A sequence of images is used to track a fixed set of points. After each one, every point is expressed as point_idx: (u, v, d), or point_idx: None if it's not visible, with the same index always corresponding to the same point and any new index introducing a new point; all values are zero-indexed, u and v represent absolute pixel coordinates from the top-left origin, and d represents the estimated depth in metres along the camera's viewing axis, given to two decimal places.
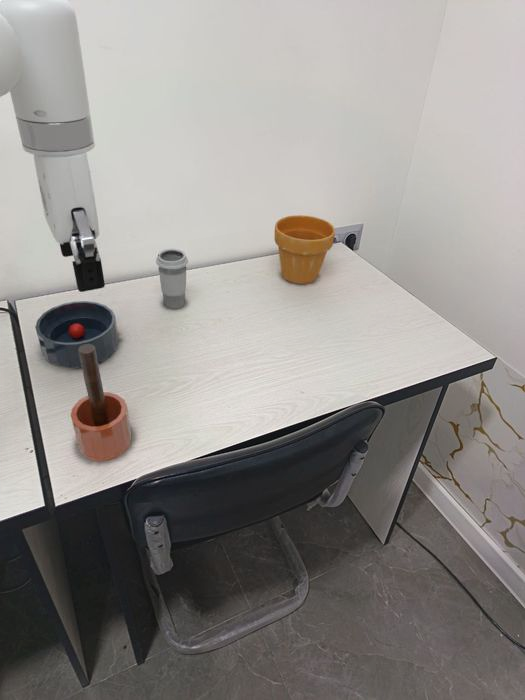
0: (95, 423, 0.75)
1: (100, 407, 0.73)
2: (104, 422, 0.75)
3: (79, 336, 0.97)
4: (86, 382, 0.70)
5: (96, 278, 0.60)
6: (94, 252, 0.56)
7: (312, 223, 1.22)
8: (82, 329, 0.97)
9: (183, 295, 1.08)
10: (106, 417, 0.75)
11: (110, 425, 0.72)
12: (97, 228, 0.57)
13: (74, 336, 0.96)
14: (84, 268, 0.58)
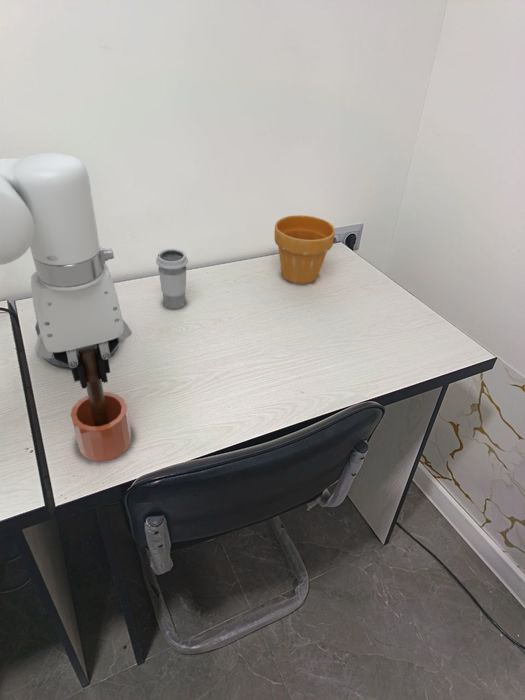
0: (95, 423, 0.75)
1: (100, 407, 0.73)
2: (104, 422, 0.75)
3: None
4: None
5: (73, 377, 0.68)
6: (53, 355, 0.65)
7: (312, 223, 1.22)
8: None
9: (183, 295, 1.08)
10: (106, 417, 0.75)
11: (110, 425, 0.72)
12: (46, 345, 0.62)
13: None
14: None
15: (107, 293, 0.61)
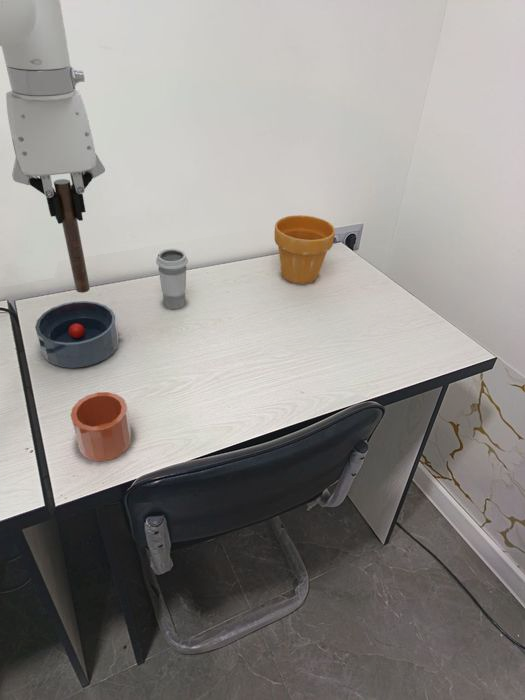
0: (73, 269, 0.79)
1: (76, 249, 0.76)
2: (81, 268, 0.79)
3: (79, 336, 0.97)
4: None
5: (50, 210, 0.72)
6: (29, 182, 0.68)
7: (312, 223, 1.22)
8: (82, 329, 0.97)
9: (183, 295, 1.08)
10: (83, 263, 0.79)
11: (110, 425, 0.72)
12: (22, 165, 0.66)
13: (74, 336, 0.96)
14: (46, 196, 0.72)
15: (78, 114, 0.65)
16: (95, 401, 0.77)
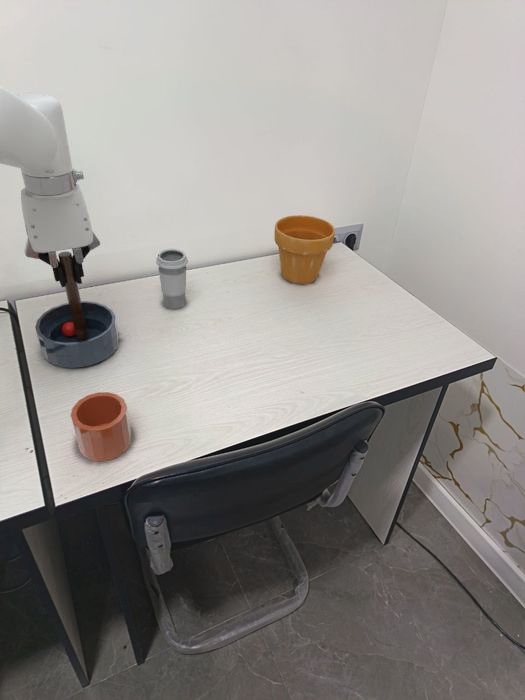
0: (73, 321, 0.94)
1: (76, 306, 0.92)
2: (80, 320, 0.94)
3: (71, 330, 0.96)
4: (65, 283, 0.89)
5: (55, 277, 0.87)
6: (38, 256, 0.84)
7: (312, 223, 1.22)
8: (69, 323, 0.97)
9: (183, 295, 1.08)
10: (82, 316, 0.94)
11: (110, 425, 0.72)
12: (33, 245, 0.81)
13: (67, 333, 0.96)
14: None
15: (79, 205, 0.81)
16: (95, 401, 0.77)
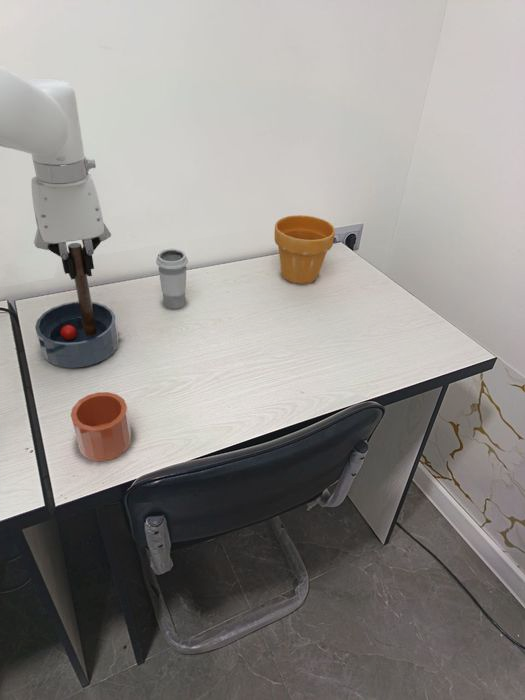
0: (83, 316, 0.92)
1: (86, 299, 0.90)
2: (90, 315, 0.92)
3: (66, 335, 0.95)
4: (75, 276, 0.87)
5: (64, 269, 0.85)
6: (48, 247, 0.82)
7: (312, 223, 1.22)
8: (71, 329, 0.96)
9: (183, 295, 1.08)
10: (91, 310, 0.92)
11: (110, 425, 0.72)
12: (43, 235, 0.79)
13: (62, 335, 0.96)
14: None
15: (90, 194, 0.79)
16: (95, 401, 0.77)
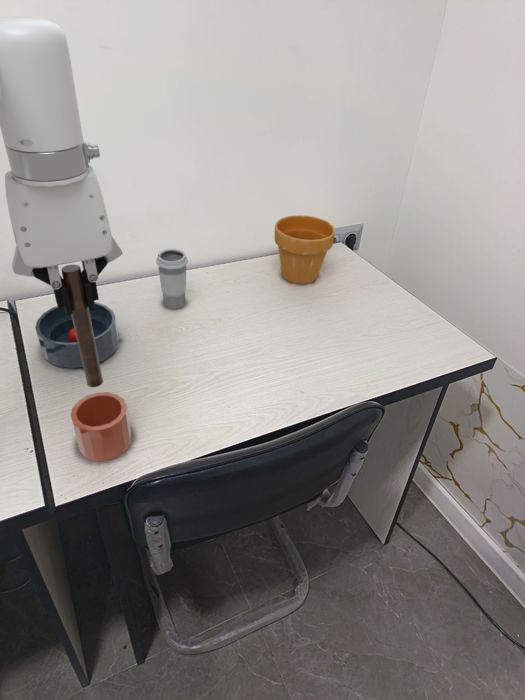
0: (84, 362, 0.67)
1: (88, 341, 0.65)
2: (94, 360, 0.67)
3: (74, 341, 0.95)
4: (72, 310, 0.62)
5: (57, 302, 0.60)
6: (33, 273, 0.57)
7: (312, 223, 1.22)
8: None
9: (183, 295, 1.08)
10: (96, 355, 0.67)
11: (110, 425, 0.72)
12: (24, 257, 0.54)
13: (71, 338, 0.95)
14: None
15: (93, 197, 0.54)
16: (95, 401, 0.77)
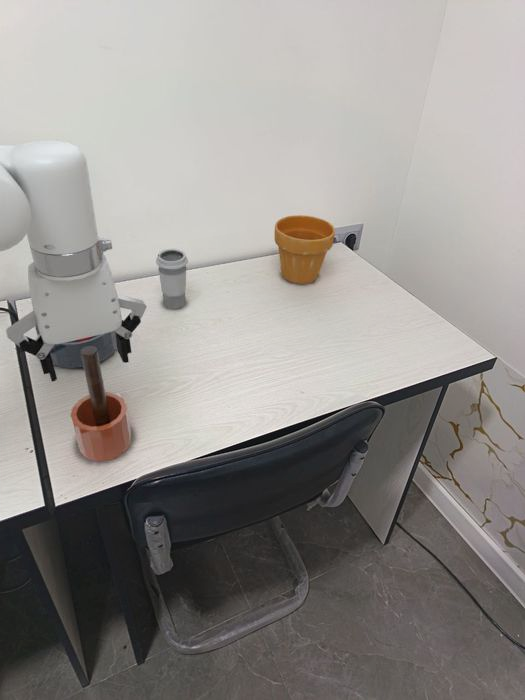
0: (97, 425, 0.74)
1: (102, 409, 0.72)
2: None
3: None
4: (88, 384, 0.69)
5: (42, 369, 0.65)
6: (19, 346, 0.61)
7: (312, 223, 1.22)
8: None
9: (183, 295, 1.08)
10: (108, 419, 0.74)
11: (110, 425, 0.72)
12: (43, 337, 0.61)
13: None
14: None
15: (105, 284, 0.60)
16: None
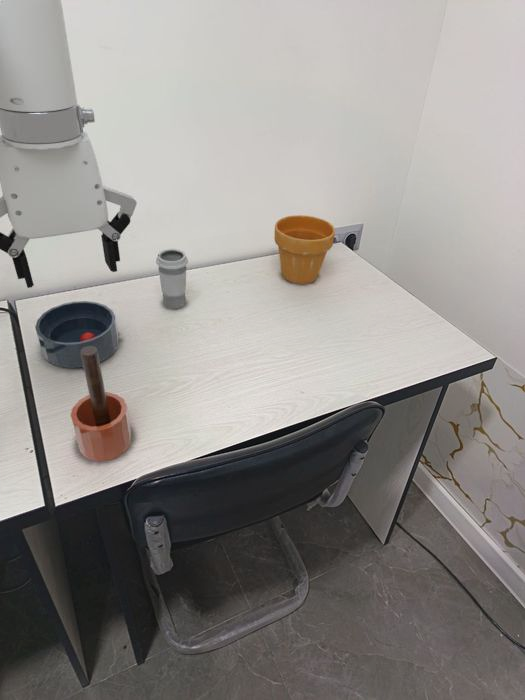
0: (97, 425, 0.74)
1: (102, 409, 0.72)
2: None
3: None
4: (88, 384, 0.69)
5: (16, 272, 0.56)
6: None
7: (312, 223, 1.22)
8: None
9: (183, 295, 1.08)
10: (108, 419, 0.74)
11: (110, 425, 0.72)
12: (15, 227, 0.52)
13: None
14: None
15: (87, 163, 0.51)
16: None
